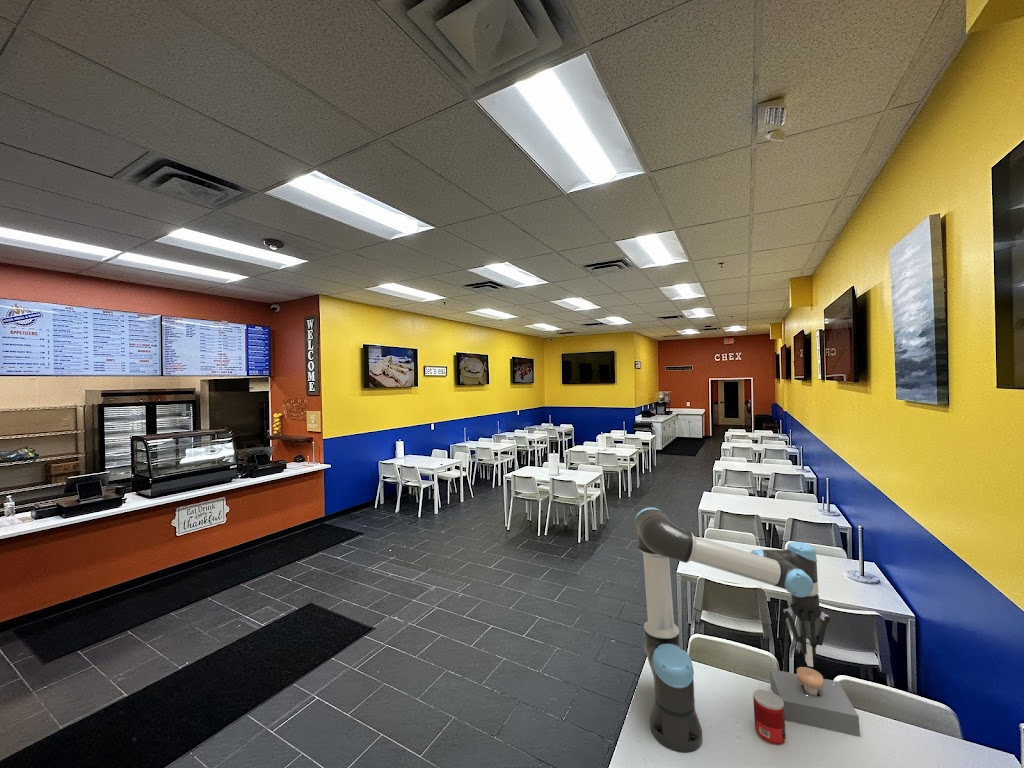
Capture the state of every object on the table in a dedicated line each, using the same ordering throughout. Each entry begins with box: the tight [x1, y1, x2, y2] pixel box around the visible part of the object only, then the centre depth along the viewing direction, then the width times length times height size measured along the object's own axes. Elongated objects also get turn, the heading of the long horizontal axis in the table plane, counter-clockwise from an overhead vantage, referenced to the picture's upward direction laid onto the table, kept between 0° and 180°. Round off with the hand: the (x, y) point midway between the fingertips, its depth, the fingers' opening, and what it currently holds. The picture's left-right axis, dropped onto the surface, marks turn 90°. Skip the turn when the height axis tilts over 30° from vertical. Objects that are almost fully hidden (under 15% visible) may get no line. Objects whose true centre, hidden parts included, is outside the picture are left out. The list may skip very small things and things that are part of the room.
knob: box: [796, 666, 824, 696], centre depth 134 cm, size 7×7×8 cm
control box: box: [769, 668, 861, 737], centre depth 133 cm, size 20×16×6 cm
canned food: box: [752, 689, 787, 746], centre depth 124 cm, size 8×8×11 cm
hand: (809, 663), depth 134 cm, fingers closed
